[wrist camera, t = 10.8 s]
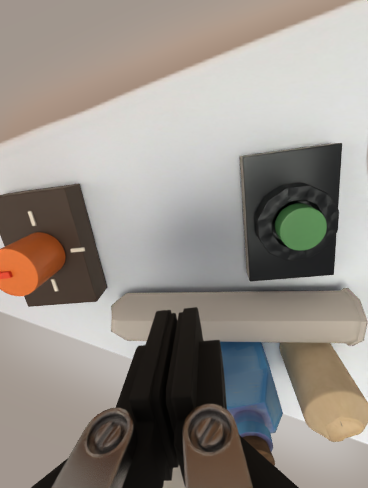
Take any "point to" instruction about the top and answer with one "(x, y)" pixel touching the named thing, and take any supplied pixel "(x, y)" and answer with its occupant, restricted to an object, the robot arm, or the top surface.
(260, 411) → the perfume bottle
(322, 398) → the candle
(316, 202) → the button housing
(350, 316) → the tube
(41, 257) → the dial knob
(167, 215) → the top surface
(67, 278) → the dial block
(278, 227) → the button
